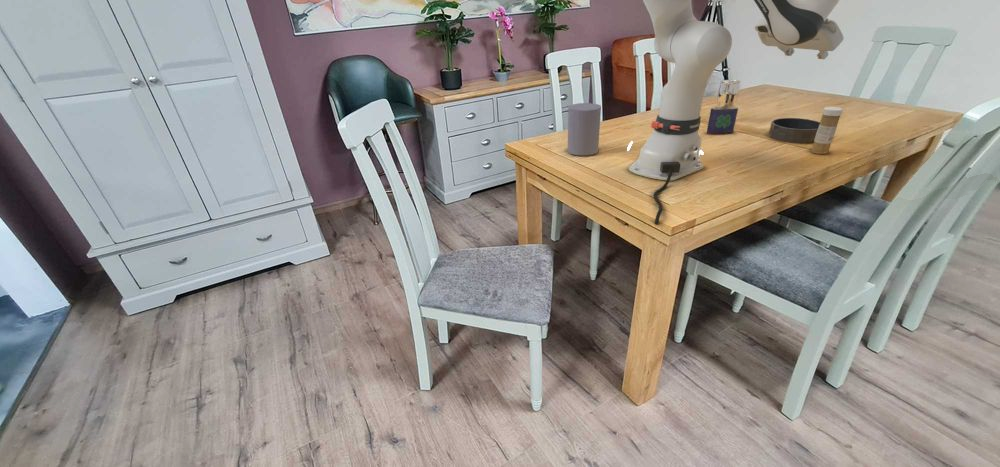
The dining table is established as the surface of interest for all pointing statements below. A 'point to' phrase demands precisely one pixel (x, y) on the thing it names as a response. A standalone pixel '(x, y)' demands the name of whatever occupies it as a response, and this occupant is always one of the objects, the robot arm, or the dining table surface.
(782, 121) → the pan
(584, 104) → the container
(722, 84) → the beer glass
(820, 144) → the sprinkles bottle
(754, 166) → the dining table surface
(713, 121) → the blue clover tile
